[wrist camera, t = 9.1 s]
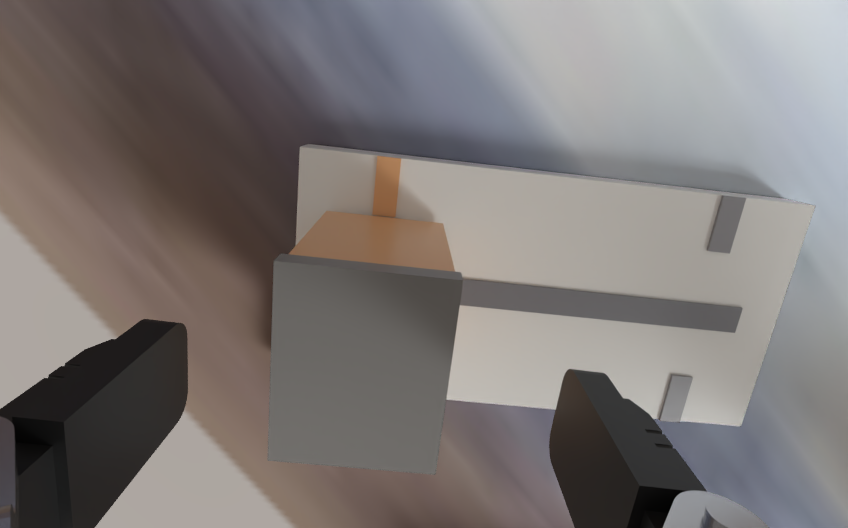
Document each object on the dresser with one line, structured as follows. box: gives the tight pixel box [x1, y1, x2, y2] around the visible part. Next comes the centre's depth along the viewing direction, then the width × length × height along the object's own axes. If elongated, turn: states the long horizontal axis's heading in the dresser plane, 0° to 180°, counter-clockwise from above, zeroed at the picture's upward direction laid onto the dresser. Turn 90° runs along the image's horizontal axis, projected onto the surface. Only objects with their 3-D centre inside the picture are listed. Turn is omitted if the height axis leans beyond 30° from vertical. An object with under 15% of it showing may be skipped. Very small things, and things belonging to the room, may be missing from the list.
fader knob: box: [268, 211, 463, 475], centre depth 15 cm, size 4×5×6 cm
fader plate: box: [296, 144, 815, 427], centre depth 19 cm, size 18×9×2 cm, turn 83°
